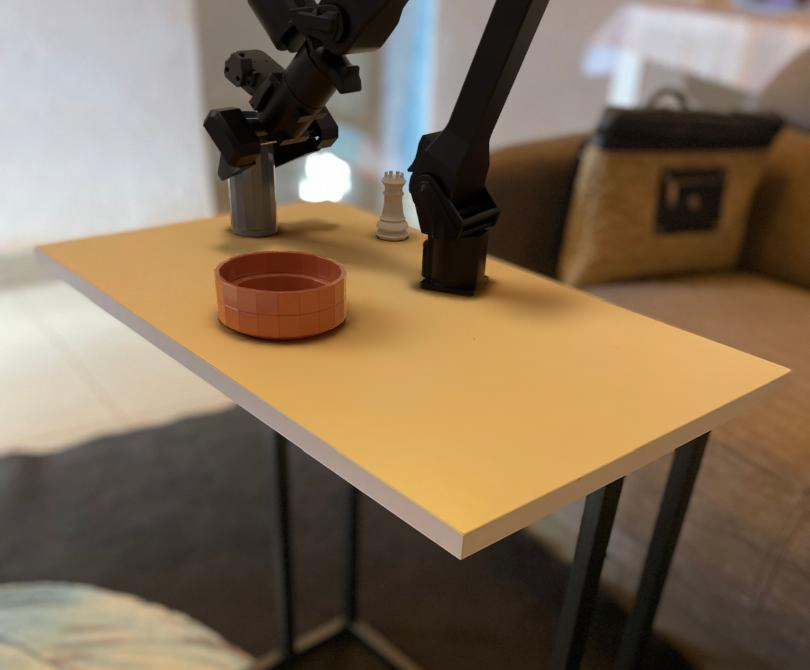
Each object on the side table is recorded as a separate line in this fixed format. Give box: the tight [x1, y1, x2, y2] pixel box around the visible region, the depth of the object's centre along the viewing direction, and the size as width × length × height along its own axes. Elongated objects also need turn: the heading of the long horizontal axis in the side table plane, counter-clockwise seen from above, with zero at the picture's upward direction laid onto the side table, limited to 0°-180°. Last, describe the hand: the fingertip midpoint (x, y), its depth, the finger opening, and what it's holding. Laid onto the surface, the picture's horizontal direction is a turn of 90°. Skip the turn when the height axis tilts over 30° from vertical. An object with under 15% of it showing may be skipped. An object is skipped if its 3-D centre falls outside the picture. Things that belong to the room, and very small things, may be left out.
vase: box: [227, 109, 278, 238], centre depth 108 cm, size 6×6×14 cm
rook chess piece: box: [375, 170, 410, 242], centre depth 110 cm, size 4×4×8 cm
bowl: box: [213, 250, 348, 341], centre depth 85 cm, size 13×13×5 cm
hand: (243, 172), depth 108 cm, fingers open, 8 cm apart
